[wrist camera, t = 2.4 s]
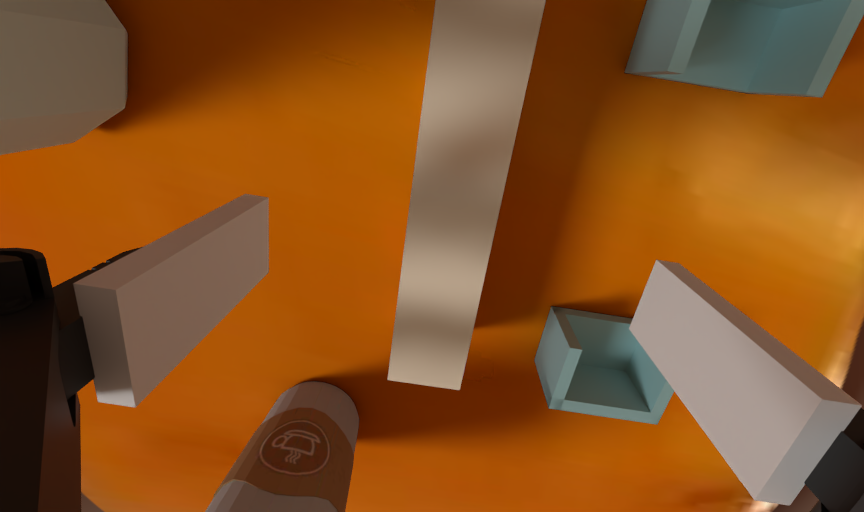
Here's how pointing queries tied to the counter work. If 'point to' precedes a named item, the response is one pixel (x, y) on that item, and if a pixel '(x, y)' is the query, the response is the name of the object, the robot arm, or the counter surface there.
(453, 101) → the slat
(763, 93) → the end caps
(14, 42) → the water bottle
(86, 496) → the counter surface
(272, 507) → the coffee cup
